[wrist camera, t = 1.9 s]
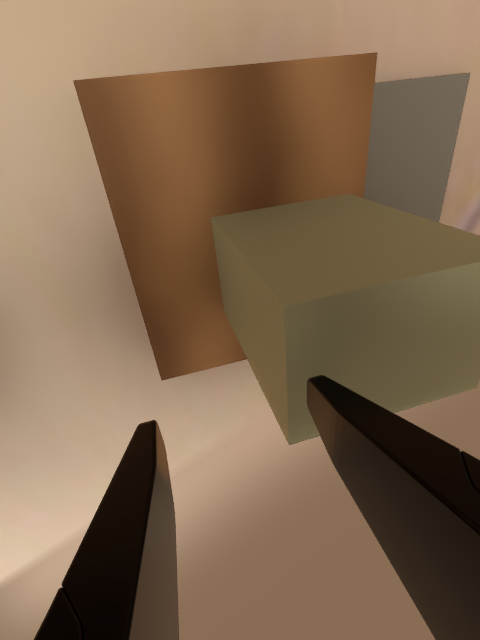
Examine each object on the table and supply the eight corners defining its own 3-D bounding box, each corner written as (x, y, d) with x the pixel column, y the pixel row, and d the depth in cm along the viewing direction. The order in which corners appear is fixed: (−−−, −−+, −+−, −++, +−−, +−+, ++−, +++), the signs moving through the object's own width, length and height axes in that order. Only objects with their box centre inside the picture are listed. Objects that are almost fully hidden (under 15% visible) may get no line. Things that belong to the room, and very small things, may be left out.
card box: (224, 311, 18) (289, 445, 10) (210, 217, 15) (284, 306, 8) (342, 284, 19) (476, 387, 12) (348, 193, 17) (526, 250, 9)
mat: (336, 278, 22) (339, 281, 22) (347, 86, 16) (351, 85, 16) (426, 259, 23) (430, 261, 23) (464, 73, 18) (470, 72, 17)
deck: (158, 355, 21) (161, 380, 19) (82, 87, 14) (73, 80, 12) (332, 313, 23) (351, 332, 21) (345, 62, 16) (377, 52, 14)
